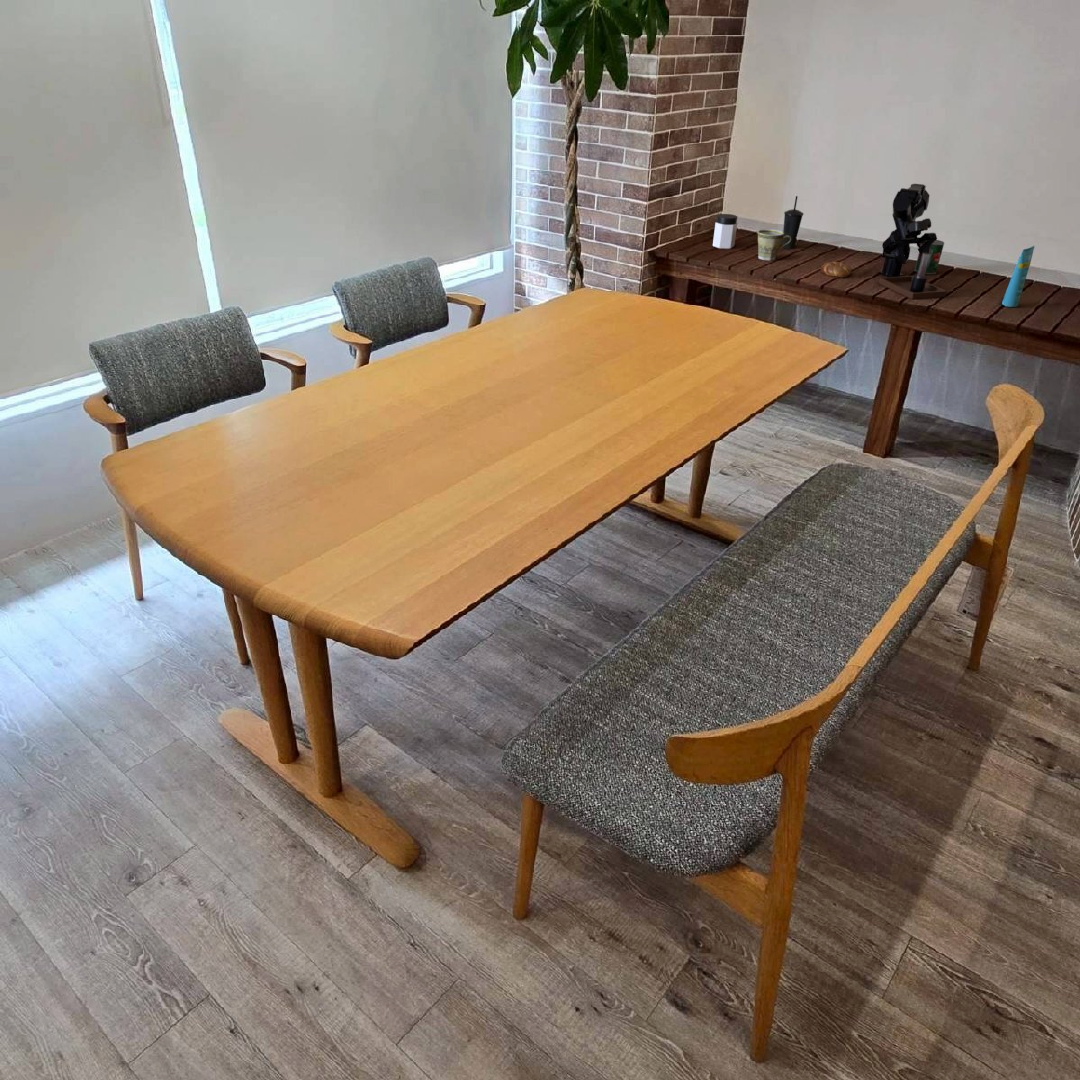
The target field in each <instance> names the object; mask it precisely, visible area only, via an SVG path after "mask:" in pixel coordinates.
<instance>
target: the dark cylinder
mask: <svg viewBox="0 0 1080 1080" xmlns="http://www.w3.org/2000/svg"><path fill="white" fill-rule="evenodd" d="M930 255H931V254H930V253H926V252H924V253H922V256H921V260H920V263H919V267H918V271H917V272H916V274H915V275H913V276H914V277H913V281H912V285H911V289H910V291H912V292H915V293H918V292H923V291H924V287H925V284H926V282H927V279H928V276H927V274H926V270H927V267H928V263H929V259H930Z"/></svg>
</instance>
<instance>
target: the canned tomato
mask: <svg viewBox="0 0 1080 1080" xmlns="http://www.w3.org/2000/svg"><path fill="white" fill-rule="evenodd" d="M944 246H945V242H944V241H943V240H939V239H937V240H935V241H934V242H933V243H932V244H931V246H930V250H929V253H930V254H931V255H930V259H929V263H928V267H927V270H926V274H925V275H935V274H937V272H938V268H939V264H940V260H941V257H942V254H943V250H944ZM920 260H921V255H920V253H919V252H918V255H917V259H916V263H915V266H914V272H916V273H917V271H918V267H919V263H920Z"/></svg>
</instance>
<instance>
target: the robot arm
mask: <svg viewBox="0 0 1080 1080" xmlns="http://www.w3.org/2000/svg"><path fill="white" fill-rule="evenodd" d="M926 187H927V186H926V184H921V183H912V184H910V187H908V188H904V187H902V188H900V190H898V191H897V193H896V194H895V196H894V199H893V201H892V218H893V219H892V220H893V221H894V225H895V229H894V230H892V231H890V234H889V236H888V237H887V238H886V239H885V240H884V241H883V242H882V245H881V247H882V254H881V258H885V259H884V262H883V266H882V270H878V273H879V274H881V275H883V276H884V277H899V276H904V274H903V273H901V272H902V267H903V265H905V264H906V263H907V262H906V261H908V260H909V259H910V254H911V247H910V245H914V244H915V245H916V247H917V251H918V254H919V253H920V255H921V256H922V253H924V252H926V253H929V250H930V246H931V244H932V243H933V242H934V241H935V240H938V237H937V233H936V232H924V231H928V229H930V228H931V227H932V220H931V218H930V217H929V218H925V219H922V220H916V219H918V218H920V217H922V216H923V215H924V213H925V211H927V210H928V207H929V203H930V193H929V192H928V191H927V190H926ZM922 232H924V234H923V235H921V234H922ZM920 235H921V236H920ZM918 236H920V237H918Z"/></svg>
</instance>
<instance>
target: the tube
mask: <svg viewBox="0 0 1080 1080" xmlns="http://www.w3.org/2000/svg"><path fill="white" fill-rule="evenodd" d="M1034 249H1035V245H1032V246H1031V247H1028V248H1024V249H1022V251H1021V253H1020V255H1019V257H1018V259H1017V262H1016V265H1015V267H1014V270H1013V273H1012V275H1011V277H1010V280H1009V283H1008V286H1007V289H1006V291H1005V294H1004V296H1003V299H1002V302H1001V305H1003V306H1004V307H1009V308H1017V307H1018V306H1019V303H1020V299H1021V296H1022V293H1023V289H1024V286H1025V283H1026V278H1027V276H1028V273H1029V269H1030V266H1031V262H1032V258H1033V254H1034Z"/></svg>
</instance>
